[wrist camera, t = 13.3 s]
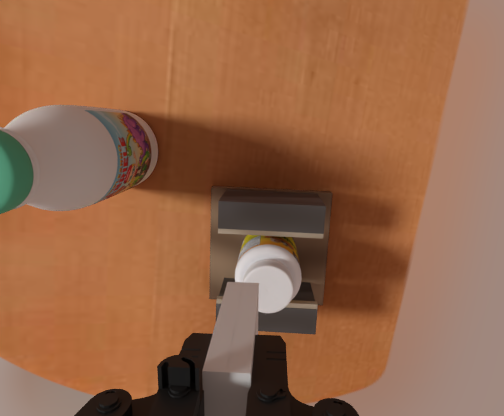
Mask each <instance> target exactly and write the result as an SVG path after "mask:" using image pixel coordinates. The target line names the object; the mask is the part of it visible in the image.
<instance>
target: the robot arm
mask: <svg viewBox="0 0 504 416" xmlns="http://www.w3.org/2000/svg"><path fill="white" fill-rule="evenodd" d="M258 304H259V283H247V282H227V285H226V289H225V292H224V296H223V300H222V303H221V307H220V310H219V314H218V317H217V321H216V324H215V328H214V331H213V334H203V333H193V334H191V335H190V336H189V337H188V338H187V339H186V340H185V341H184V344H183V346H182V350H181V351H180V354H179V355H174V356H171V357H168V358H166V359H164V360H163V361H161V362H160V364H159V365H158V366H157V368H158V387H159V389H158V392H157V393H156V394H154V395H152V396H149V397H145V398H140V399H135V400H132V397H131V395H130V394H129V392H127V391H125V390H123V389H110V390H105V391H103V392H101V393H99V394H97V395H96V396H94V397H93V398H92V399H90V400H89V401H88V403H86V404H85V406H84V407H82V408H81V409H80V411H79V412H77V414H76V415H74V416H359V415H358V414H357V412H356V410H355V409H354V408H353V407H352V406H351V405H350V404H348V403H346V402H345V401H342V400H339V399H335V398H327V399H323V400H320V401H319V402H318V403H316V404H315V406H314V407H313V406H309V405H306V404H304V403H301V402H300V401H298V400H296V399H295V398H294V397H293V396H292V395H291V393H290V392H289V389H288V379H287V361H286V343H285V342H284V341H283V339H282V338H281V336H274V335H258Z"/></svg>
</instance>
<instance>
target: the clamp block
mask: <svg viewBox="0 0 504 416" xmlns="http://www.w3.org/2000/svg"><path fill="white" fill-rule="evenodd" d="M331 204H332V192H329V191H308V190H286V189H265V188H244V187H222V186H212V188H211V240H210V299H217V302H216V321H217V317H218V314H219V310H220V307H221V303H222V300H223V296H224V292H225V289H226V285H227V282H235V269H236V265H237V261H238V258H239V254H240V250H241V246H242V243H243V240H244V238H245V236H246V235H261V236H280V237H293V239H294V241H295V244H296V248H297V253H298V258H299V263H300V268H301V276H302V280H301V285H300V288H299V291H298V293H297V294H296V296H295V297H294V298H293V299H292V300H291V301H290V303H289V304H288V305H287V306H286V307H285V308H284V309H282V310H280V311H278V312H275V313H262V312H259V311H258V331H268V332H285V333H302V334H315V332H316V320H317V306H318V305H323V296H324V285H325V273H326V262H327V250H328V239H329V227H330V216H331Z"/></svg>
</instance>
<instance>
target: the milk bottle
mask: <svg viewBox="0 0 504 416" xmlns="http://www.w3.org/2000/svg"><path fill="white" fill-rule="evenodd" d="M157 159H158V145H157V140H156V137H155V135H154V133H153V131H152V129H151V128H150V127H149V125H148V124H147V123H146V122H145V121H144V120H143V119H141V118H140V117H139V116H137V115H135V114H133V113H131V112H127V111H123V110H116V109H107V108H98V107H87V106H75V105H50V106H43V107H38V108H35V109H32V110H29V111H27V112H25V113H23V114H21V115H19V116H18V117H16V118H15V119H13V120H12V121H11V122H10V123H9V124H8V125H7V126H6V127H5V128H2V127H0V214H1V213H4V212H7V211H10V210H12V209H16V208H19V207H21V206H23V205H25V204H28V205H30V206H33V207H36V208H39V209H44V210H50V211H70V210H75V209H80V208H84V207H87V206H90V205H92V204H95V203H98V202H100V201H102V200H105V199H107V198H109V197H112V196H114V195H116V194H119V193H121V192H123V191H125V190H128V189H130V188H132V187H134V186H136V185H138V184H140V183H142V182H143V181H144V180H146V179H147V178H148V177H149V176H150V174H151V173H152V172H153V170H154V168H155V166H156V163H157Z"/></svg>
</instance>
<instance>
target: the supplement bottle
mask: <svg viewBox="0 0 504 416" xmlns="http://www.w3.org/2000/svg"><path fill="white" fill-rule="evenodd" d="M301 280H302V276H301V268H300V263H299V258H298V253H297V248H296V244H295V241H294V239H293V237H280V236H261V235H246V236H245V238H244V240H243V243H242V246H241V250H240V254H239V258H238V261H237V265H236V269H235V282H247V283H259V304H258V311H259V312H262V313H275V312H278V311H280V310H282V309H284V308H285V307H286V306H287V305H288V304H289V303H290V301H291V300H292V299H293V298H294V297H295V296H296V294H297V293H298V291H299V288H300V285H301Z"/></svg>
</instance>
